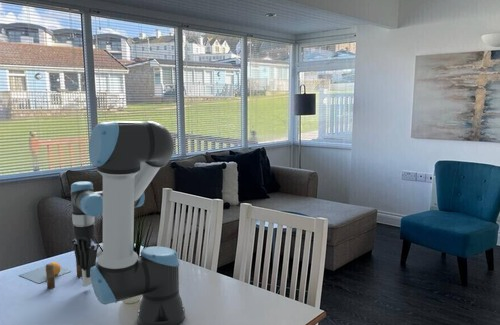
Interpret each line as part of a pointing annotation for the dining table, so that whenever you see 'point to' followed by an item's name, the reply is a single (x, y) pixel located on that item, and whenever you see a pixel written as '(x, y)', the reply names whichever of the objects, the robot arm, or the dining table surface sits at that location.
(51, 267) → the left post
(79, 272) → the right post
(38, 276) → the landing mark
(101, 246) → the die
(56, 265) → the ball
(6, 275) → the dining table surface
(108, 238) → the robot arm
